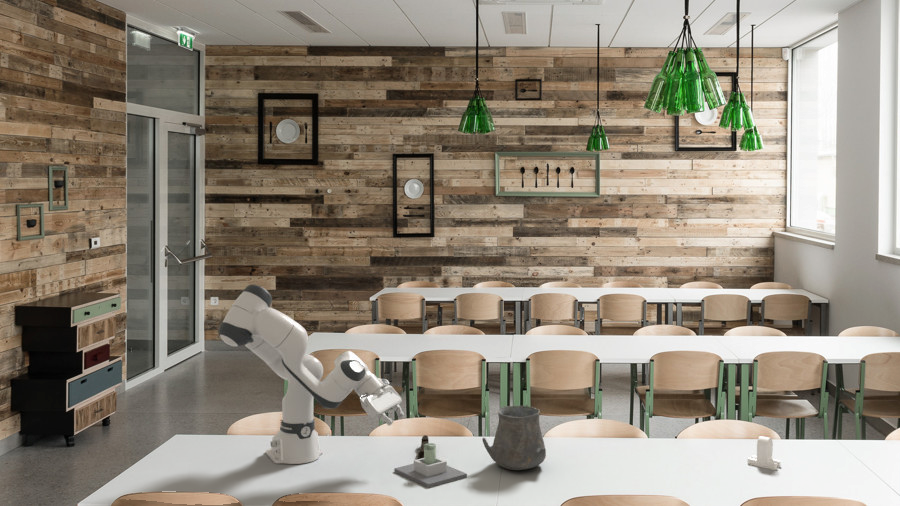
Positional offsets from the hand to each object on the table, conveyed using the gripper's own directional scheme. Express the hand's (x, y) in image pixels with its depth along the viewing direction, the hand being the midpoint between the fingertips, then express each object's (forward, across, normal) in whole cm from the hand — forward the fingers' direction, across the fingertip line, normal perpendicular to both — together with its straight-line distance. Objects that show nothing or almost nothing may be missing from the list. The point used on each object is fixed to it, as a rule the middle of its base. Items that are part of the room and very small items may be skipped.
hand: (397, 420), depth 281 cm
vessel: (+40, +19, -15) cm, 46 cm away
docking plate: (+21, 0, +4) cm, 21 cm away
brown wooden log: (+13, +21, +12) cm, 28 cm away
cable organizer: (+97, +48, -72) cm, 129 cm away
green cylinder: (+20, 0, +3) cm, 20 cm away
